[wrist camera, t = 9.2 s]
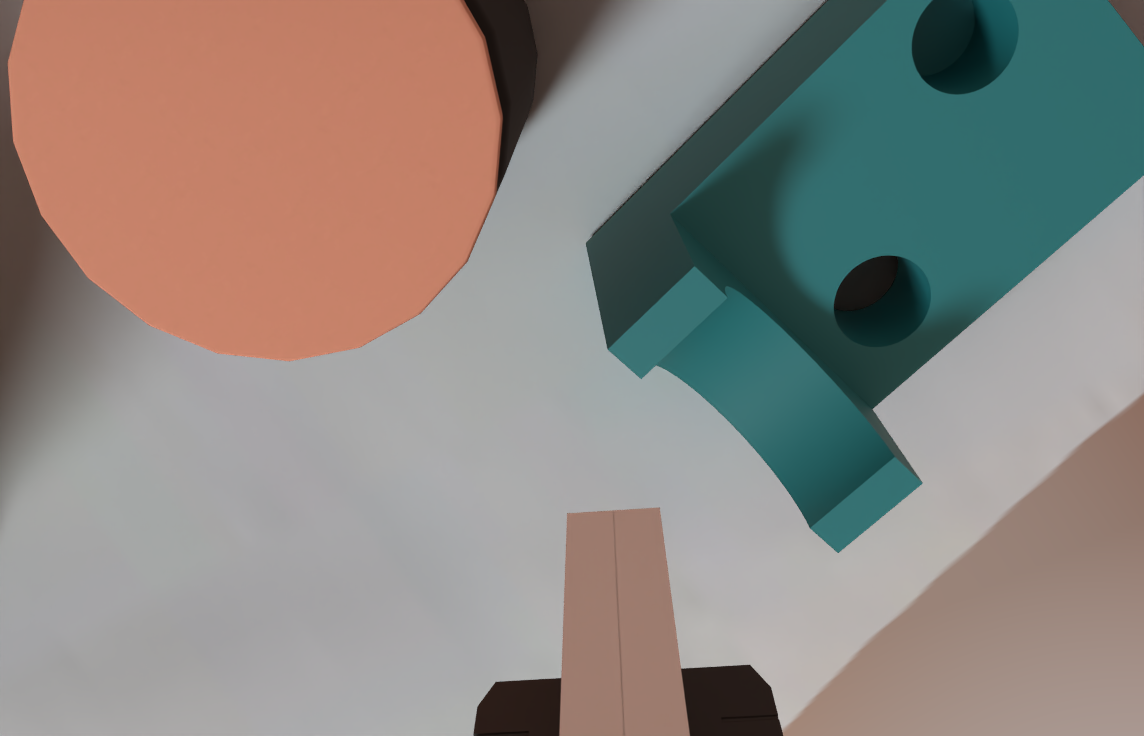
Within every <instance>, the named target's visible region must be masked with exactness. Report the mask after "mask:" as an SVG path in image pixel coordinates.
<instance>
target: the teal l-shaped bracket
mask: <svg viewBox="0 0 1144 736" xmlns="http://www.w3.org/2000/svg"><path fill="white" fill-rule="evenodd" d="M1143 175H1144V46H1143V45H1142V44H1141V42H1140V41H1139V40H1138V39H1137V37H1136V36H1135V35H1134V33H1133V32H1132V31H1131V29H1130V28H1129V27H1128V26H1127V24H1126V23H1125V22H1124V20H1123V19H1122V18H1121V16H1120V15H1119V14H1118V13H1117V11H1116V10H1115V9H1114V7H1113V6H1112V5H1111V4H1110V2H1109V1H1108V0H828V1H827V2H826V3H825V4H824V5H823V6H822V7H821V8H820V9H819V10H818V11H817V12H816V13H815V14H814V15H813V16H812V17H811V18H810V19H809V20H808V21H807V22H806V23H805V24H804V25H803V26H802V27H801V28H800V29H799V30H798V31H797V32H796V33H795V34H794V35H793V36H792V37H791V38H790V39H789V40H788V41H787V42H786V43H785V44H784V45H783V46H782V47H781V48H780V49H779V50H778V51H777V52H776V53H775V54H774V55H773V56H772V57H771V58H770V59H769V60H768V61H767V62H766V63H765V64H764V65H763V66H762V67H761V68H760V69H759V70H758V71H757V72H756V73H755V74H754V75H753V76H752V77H751V78H750V79H749V80H748V81H747V82H746V83H745V84H744V85H743V86H742V87H741V88H740V89H739V90H738V91H737V92H736V93H735V94H734V95H733V96H732V97H731V98H730V99H729V100H728V101H727V102H726V103H725V104H724V105H723V106H722V107H721V108H720V109H719V110H718V111H717V112H716V113H715V114H714V115H713V116H712V117H711V118H710V119H709V120H708V121H707V122H706V123H705V124H704V125H703V126H702V127H701V128H700V129H699V130H698V131H697V132H696V133H695V134H694V135H693V136H692V137H691V138H690V139H689V140H688V141H687V142H686V143H685V144H684V145H683V146H682V147H681V148H680V149H679V150H678V151H677V152H676V153H675V154H674V155H673V156H672V157H671V158H670V159H669V160H668V161H667V162H666V163H665V164H664V165H663V166H662V167H661V168H660V169H659V170H658V171H657V172H656V173H655V174H654V175H653V176H652V177H651V178H650V179H649V180H648V181H647V182H646V183H645V184H644V185H643V186H642V187H641V188H640V189H639V190H638V191H637V192H636V193H635V194H634V195H633V196H632V197H631V198H630V199H629V200H628V201H627V202H626V203H625V204H624V205H623V206H622V207H621V208H620V209H619V210H618V211H617V212H616V213H615V214H614V215H613V216H612V217H611V218H610V219H609V220H608V221H607V222H606V223H605V224H604V225H603V226H602V227H601V228H600V229H599V230H598V231H597V232H596V233H595V234H594V235H593V236H592V237H591V238H590V239H589V240H588V241H587V242H586V247H587V252H588V257H589V261H590V266H591V271H592V276H593V281H594V286H595V290H596V295H597V300H598V305H599V310H600V315H601V320H602V324H603V329H604V334H605V339H606V344H607V349H608V350H609V351H610V352H611V353H612V354H613V355H615V356H616V357H617V358H618V359H619V360H620V361H621V362H622V363H624V364H625V365H626V366H627V367H628V368H629V369H630V370H632V371H633V372H634V373H635V374H636V375H637V376H638V377H639V378H641V379H642V378H643V377H644V376H645V375H646V374H647V373H648V372H649V371H650V370H651V369H652V368H653V367H655V366H656V365H657V366H659V367H662V368H663V369H665V370H667V371H669V372H670V373H672V374H674V375H675V376H677V377H678V378H680V379H681V380H682V381H684V382H685V383H686V384H688V385H689V386H690V387H691V388H693V389H694V390H695V391H696V392H698V393H699V394H700V395H701V396H702V397H703V398H705V399H706V400H707V401H708V402H709V403H710V404H711V405H712V406H713V407H714V408H715V409H717V410H718V411H719V412H720V413H721V414H722V415H723V416H724V417H725V418H726V419H727V420H728V421H729V422H730V423H731V424H732V425H733V426H734V427H735V428H736V429H737V430H738V431H739V433H740V434H741V435H742V436H743V437H744V438H745V439H746V440H747V441H748V442H749V443H750V445H751V446H752V447H753V448H754V449H755V450H756V451H757V453H758V454H759V455H760V456H761V457H762V458H763V460H764V461H765V462H766V463H767V465H768V466H769V467H770V468H771V470H772V471H773V472H774V473H775V475H776V476H777V477H778V479H779V480H780V481H781V483H782V484H783V485H784V487H785V488H786V489H787V491H788V492H789V494H790V495H791V497H792V498H793V500H794V501H795V503H796V504H797V506H798V507H799V509H800V511H801V512H802V514H803V516H804V518H805V519H806V521H807V523H808V525H809V527H810V529H811V530H813V531H814V532H815V533H816V534H817V535H818V536H819V537H820V538H822V539H823V540H824V541H825V542H826V543H827V544H828V545H830V546H831V547H832V548H833V549H834V550H835V551H836V552H837V553H839V552H840V551H841V550H842V549H844V548H845V547H846V546H847V545H849V544H850V543H851V542H852V541H853V540H855V539H856V538H857V537H858V536H859V535H861V534H862V533H863V532H864V531H866V530H867V529H868V528H869V527H870V526H872V525H873V524H874V523H875V522H876V521H878V520H879V519H880V518H881V517H882V516H884V515H885V514H886V513H887V512H889V511H890V510H891V509H892V508H893V507H895V506H896V505H897V504H898V503H899V502H901V501H902V500H903V499H904V498H906V497H907V496H908V495H909V494H910V493H912V492H913V491H914V490H915V489H916V488H918V487H919V486H920V485H921V484H922V481H921V480H920V479H919V477H918V476H917V474H916V473H915V471H914V470H913V468H912V467H911V465H910V464H909V462H908V461H907V459H906V458H905V457H904V455H903V454H902V452H901V451H900V449H899V448H898V446H897V445H896V443H895V442H894V440H893V439H892V437H891V436H890V435H889V433H888V432H887V430H886V429H885V427H884V426H883V424H882V423H881V421H880V420H879V418H878V417H877V415H876V414H875V413H874V411H873V410H872V409H873V408H874V407H875V406H876V405H878V404H879V403H880V402H881V401H882V400H883V399H885V398H886V397H887V396H888V395H889V394H890V393H891V392H893V391H894V390H895V389H896V388H897V387H898V386H900V385H901V384H902V383H903V382H904V381H905V380H907V379H908V378H909V377H910V376H911V375H912V374H914V373H915V372H916V371H917V370H918V369H919V368H921V367H922V366H923V365H924V364H925V363H926V362H927V361H929V360H930V359H931V358H932V357H933V356H934V355H936V354H937V353H938V352H939V351H940V350H941V349H943V348H944V347H945V346H946V345H947V344H948V343H950V342H951V341H952V340H953V339H954V338H955V337H957V336H958V335H959V334H960V333H961V332H962V331H963V330H965V329H966V328H967V327H968V326H969V325H970V324H972V323H973V322H974V321H975V320H976V319H977V318H979V317H980V316H981V315H982V314H983V313H984V312H986V311H987V310H988V309H989V308H990V307H991V306H993V305H994V304H995V303H996V302H997V301H998V300H999V299H1001V298H1002V297H1003V296H1004V295H1005V294H1006V293H1008V292H1009V291H1010V290H1011V289H1012V288H1013V287H1015V286H1016V285H1017V284H1018V283H1019V282H1020V281H1022V280H1023V279H1024V278H1025V277H1026V276H1027V275H1029V274H1030V273H1031V272H1032V271H1033V270H1034V269H1035V268H1037V267H1038V266H1039V265H1040V264H1041V263H1042V262H1044V261H1045V260H1046V259H1047V258H1048V257H1049V256H1051V255H1052V254H1053V253H1054V252H1055V251H1056V250H1058V249H1059V248H1060V247H1061V246H1062V245H1063V244H1064V243H1066V242H1067V241H1068V240H1069V239H1070V238H1071V237H1073V236H1074V235H1075V234H1076V233H1077V232H1078V231H1080V230H1081V229H1082V228H1083V227H1084V226H1085V225H1087V224H1088V223H1089V222H1090V221H1091V220H1092V219H1094V218H1095V217H1096V216H1097V215H1098V214H1099V213H1100V212H1102V211H1103V210H1104V209H1105V208H1106V207H1107V206H1109V205H1110V204H1111V203H1112V202H1113V201H1114V200H1116V199H1117V198H1118V197H1119V196H1120V195H1121V194H1123V193H1124V192H1125V191H1126V190H1127V189H1128V188H1130V187H1131V186H1132V185H1133V184H1134V183H1135V182H1136V181H1138V180H1139V179H1140V178H1141V177H1142V176H1143ZM888 255H890V256H897V257H898V269H897V274H896V277H895V280H894V282H893V284H892V286H891V287H890V289H889V290H888V291H887V293H886V294H885V295H884V296H883V297H882V298H881V299H880V300H878V301H877V302H875V303H874V304H872V305H870V306H868V307H866V308H863V309H860V310H855V311H841V310H836V309H834V300H835V296H836V293H837V290H838V288H839V286H840V284H841V282H842V281H843V279H844V278H845V277H846V275H847V274H848V273H849V272H850V271H851V270H852V269H854V268H855V267H856V266H858V265H859V264H861V263H862V262H864V261H866V260H869V259H871V258H875V257H879V256H888Z"/></svg>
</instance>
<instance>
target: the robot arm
mask: <svg viewBox="0 0 1144 736" xmlns="http://www.w3.org/2000/svg"><path fill="white" fill-rule="evenodd" d="M474 736H783V733H782V729H781V725H780V721H779V720H778V713H777V709H776V705H775V701H774V697H773V694H772V690H771V687H770V686H769V685H768V684H767V683H766V682H765V681H764V679H763V678H762V677H761V676H760V675H759V674H758V673H757V672H756V671H755V670H754V669H753V668H752V667H751V665H738V666H721V667H704V668H686V669H681V665H680V658H679V650H678V643H677V635H676V628H675V620H674V613H673V605H672V597H671V590H670V582H669V575H668V567H667V560H666V552H665V545H664V537H663V530H662V522H661V515H660V508H646V509H630V510H614V511H598V512H583V513H567V534H566V562H565V591H564V619H563V648H562V676H561V678H556V679H539V680H521V681H504V682H495V684H494V685H493V686H492V688H491V689H490V691H489V692H488V693H487V695H486V696H485V697H484V699H483V700H482V701H481V703H480V704H479V705H478V707H477V714H476V721H475V728H474Z"/></svg>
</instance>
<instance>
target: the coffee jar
mask: <svg viewBox="0 0 1144 736" xmlns="http://www.w3.org/2000/svg"><path fill="white" fill-rule="evenodd" d="M536 64H537V50H536V45H535V40H534V36H533V31H532V26H531V21H530V17H529V12H528V7H527V5H526V3H525V1H524V0H24V2H23V6H22V9H21V13H20V17H19V21H18V25H17V29H16V33H15V37H14V40H13V44H12V48H11V52H10V56H9V60H8V74H9V89H10V103H11V117H12V131H13V142H14V145H15V148H16V150H17V153H18V155H19V158H20V161H21V163H22V166H23V169H24V171H25V174H26V176H27V179H28V182H29V184H30V187H31V189H32V192H33V195H34V197H35V200H36V203H37V205H38V208H39V210H40V213H41V216H42V217H43V218H44V220H45V221H46V222H47V224H48V225H49V226H50V228H51V229H52V230H53V232H54V233H55V234H56V236H57V237H58V238H59V240H60V241H61V242H62V244H63V245H64V246H65V248H66V249H67V250H68V252H69V253H70V254H71V256H72V257H73V258H74V260H75V261H76V262H77V264H78V265H79V266H80V268H81V269H82V270H83V272H84V273H85V274H86V276H87V277H88V278H89V279H90V280H91V281H93V282H94V283H95V284H96V285H98V286H99V287H100V288H102V289H103V290H104V291H106V292H107V293H108V294H109V295H111V296H112V297H113V298H115V299H116V300H117V301H118V302H120V303H121V304H122V305H124V306H125V307H126V308H127V309H129V310H130V311H131V312H133V313H134V314H135V315H136V316H138V317H139V318H140V319H142V320H143V321H144V322H145V323H147V324H148V325H150V326H152V327H155V328H157V329H159V330H162V331H164V332H167V333H169V334H172V335H174V336H177V337H179V338H181V339H184V340H186V341H189V342H191V343H194V344H196V345H198V346H201V347H203V348H206V349H208V350H211V351H213V352H216V353H219V354H228V355H237V356H247V357H256V358H265V359H275V360H284V361H293V360H298V359H303V358H308V357H314V356H319V355H324V354H329V353H334V352H339V351H344V350H350V349H355V348H360V347H362V346H363V345H365V344H367V343H369V342H371V341H372V340H374V339H376V338H378V337H379V336H381V335H383V334H385V333H387V332H388V331H390V330H392V329H394V328H396V327H397V326H399V325H401V324H403V323H405V322H406V321H408V320H410V319H412V318H414V317H415V316H417V315H419V314H421V312H422V311H423V310H424V309H425V308H426V307H427V306H428V305H429V304H430V302H431V301H432V300H433V299H434V298H435V297H436V296H437V295H438V294H439V293H440V291H441V290H442V289H443V288H444V287H445V286H446V285H447V284H448V283H449V281H450V280H451V279H452V278H453V277H454V276H455V275H456V274H457V273H458V271H459V270H460V269H461V268H462V267H463V266H464V265H465V264H466V263H467V261H468V259H469V257H470V254H471V252H472V250H473V247H474V245H475V243H476V241H477V238H478V236H479V234H480V231H481V229H482V227H483V224H484V222H485V220H486V217H487V215H488V213H489V210H490V208H491V206H492V203H493V201H494V199H495V196H496V194H497V191H498V189H499V187H500V184H501V182H502V180H503V177H504V175H505V173H506V170H507V168H508V165H509V162H510V160H511V157H512V155H513V152H514V149H515V147H516V144H517V142H518V139H519V137H520V134H521V131H522V129H523V126H524V124H525V121H526V119H527V116H528V113H529V111H530V108H531V106H532V103H533V96H534V85H535V75H536Z"/></svg>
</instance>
